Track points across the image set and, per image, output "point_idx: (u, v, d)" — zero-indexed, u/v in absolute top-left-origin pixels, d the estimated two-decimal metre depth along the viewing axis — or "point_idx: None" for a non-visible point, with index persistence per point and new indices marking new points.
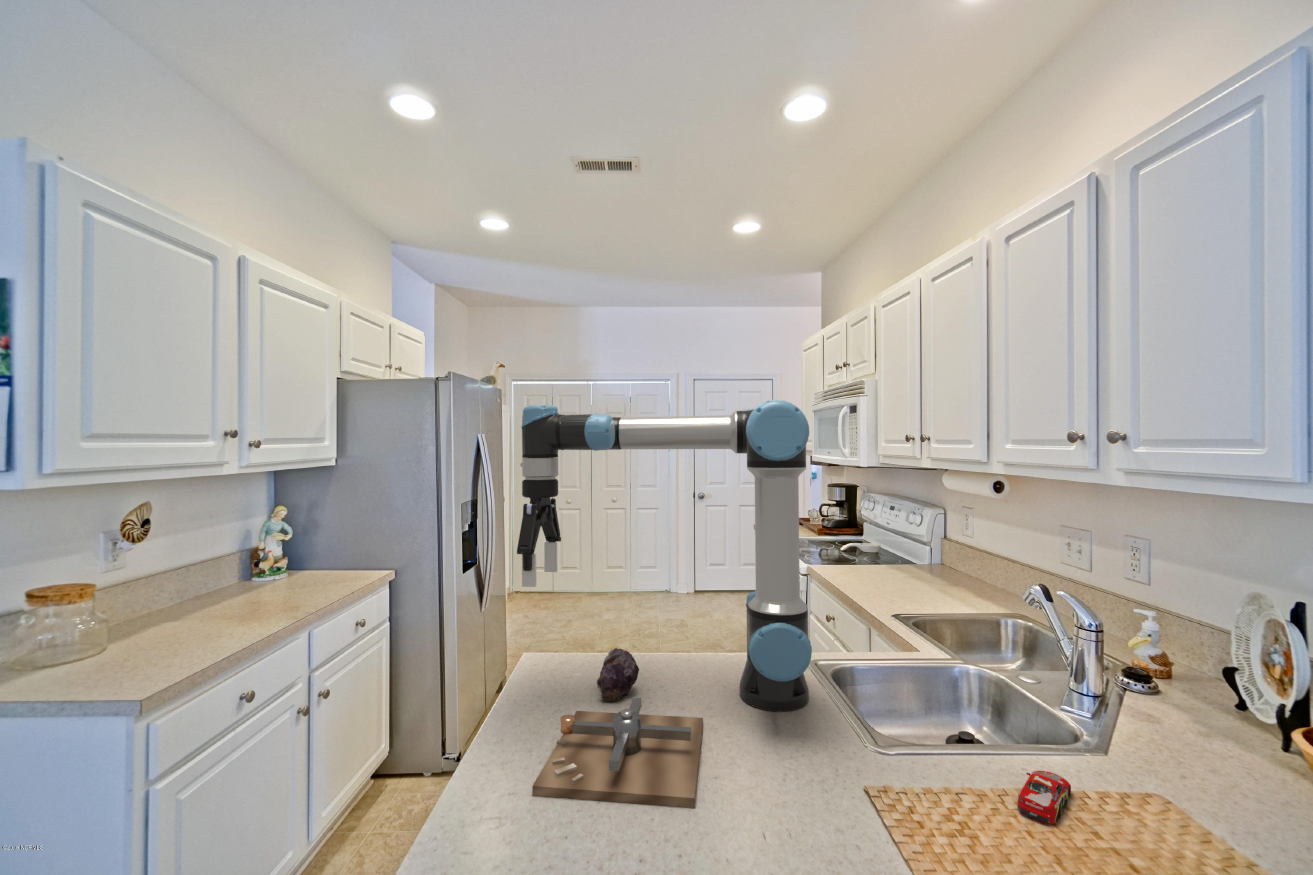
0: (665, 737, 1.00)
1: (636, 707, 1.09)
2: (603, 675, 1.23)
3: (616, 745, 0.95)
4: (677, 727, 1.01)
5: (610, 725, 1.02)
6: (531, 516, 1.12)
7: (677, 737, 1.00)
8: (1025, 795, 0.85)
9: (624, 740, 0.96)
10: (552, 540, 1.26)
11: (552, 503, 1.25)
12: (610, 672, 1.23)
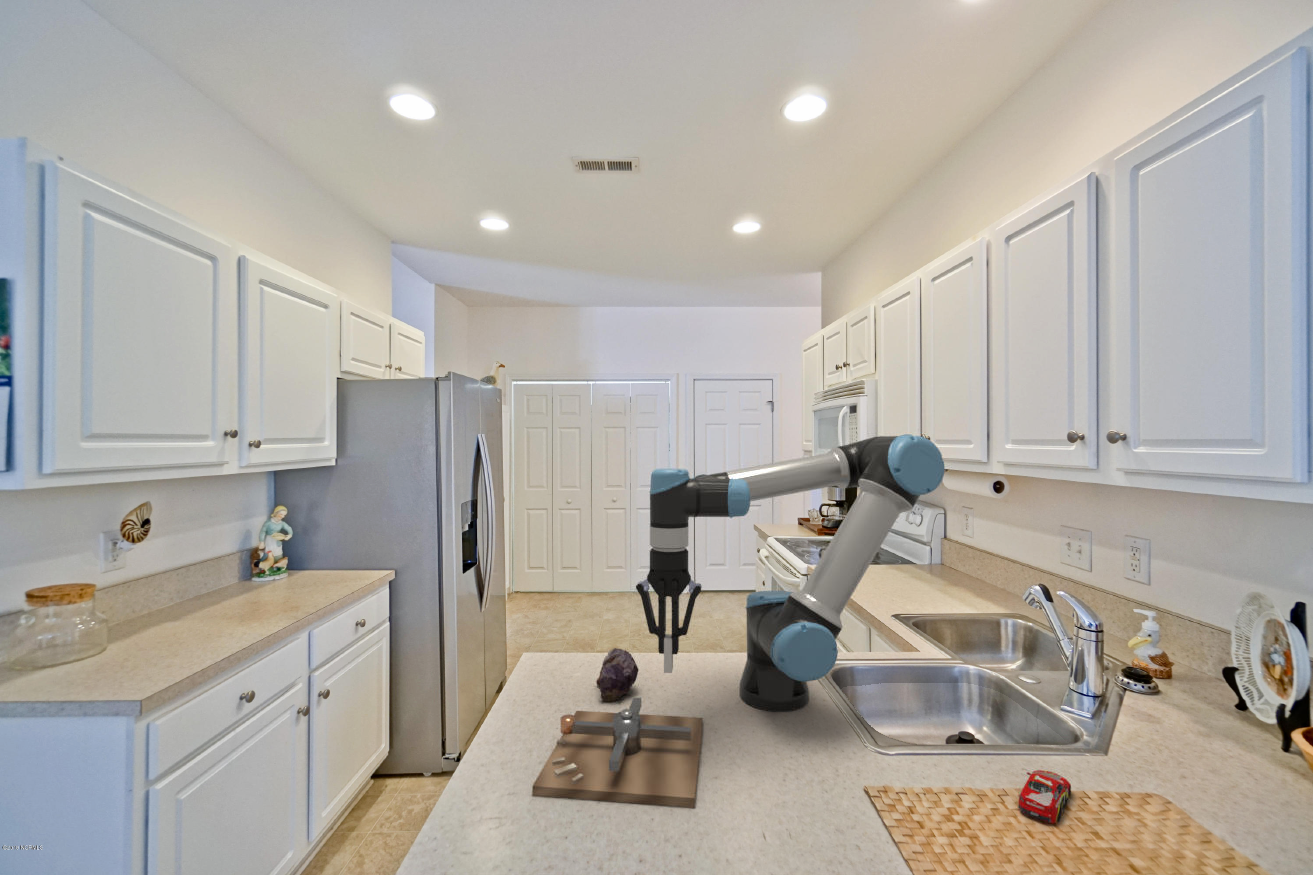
0: (665, 737, 1.00)
1: (636, 707, 1.09)
2: (602, 675, 1.23)
3: (616, 745, 0.95)
4: (677, 727, 1.01)
5: (610, 725, 1.02)
6: None
7: (677, 737, 1.00)
8: (1026, 795, 0.85)
9: (624, 740, 0.96)
10: None
11: (694, 589, 1.08)
12: (609, 672, 1.24)
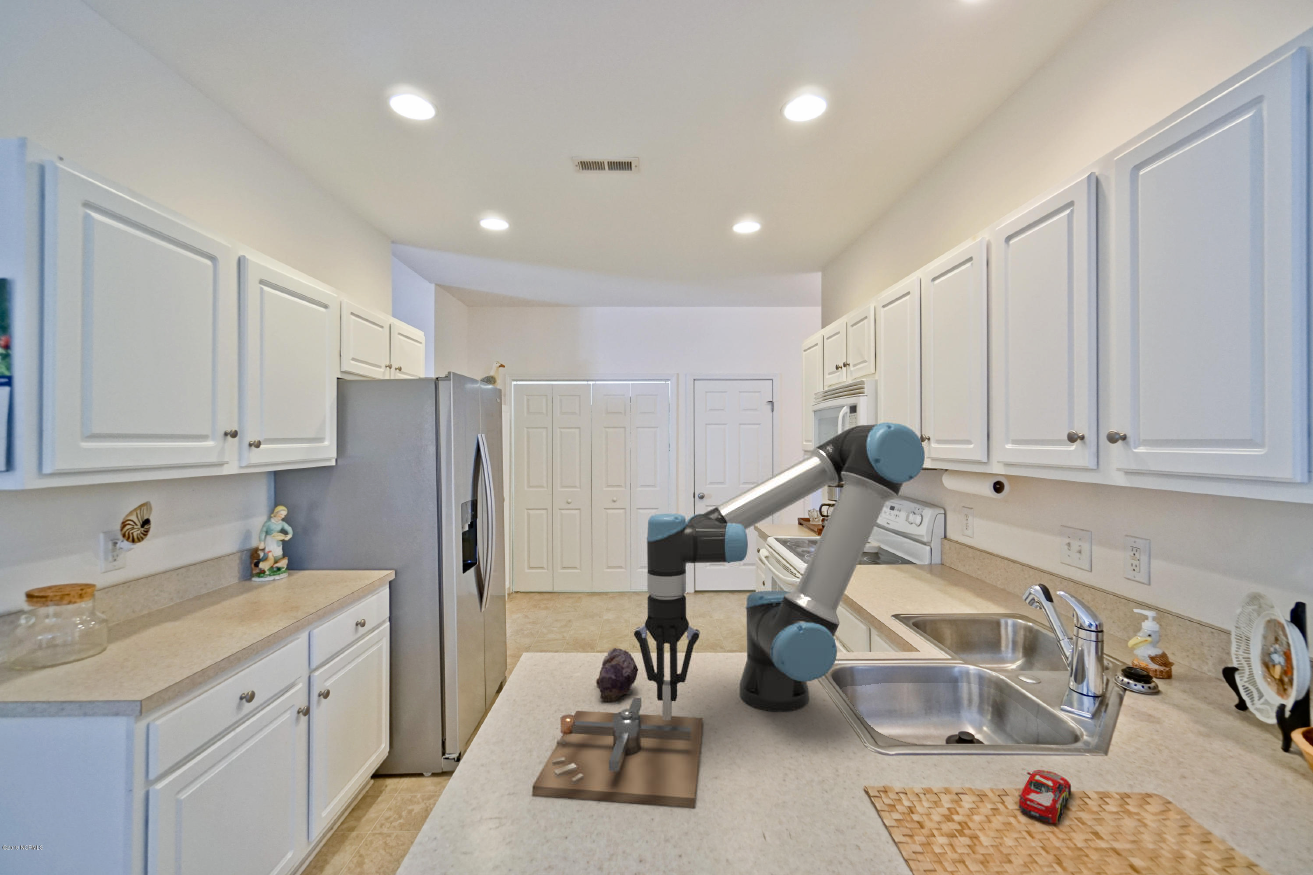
0: (665, 737, 1.00)
1: (636, 707, 1.09)
2: (602, 675, 1.23)
3: (616, 745, 0.95)
4: (677, 727, 1.01)
5: (610, 725, 1.02)
6: None
7: (677, 737, 1.00)
8: (1026, 795, 0.85)
9: (624, 740, 0.96)
10: None
11: (692, 635, 1.08)
12: (608, 672, 1.24)
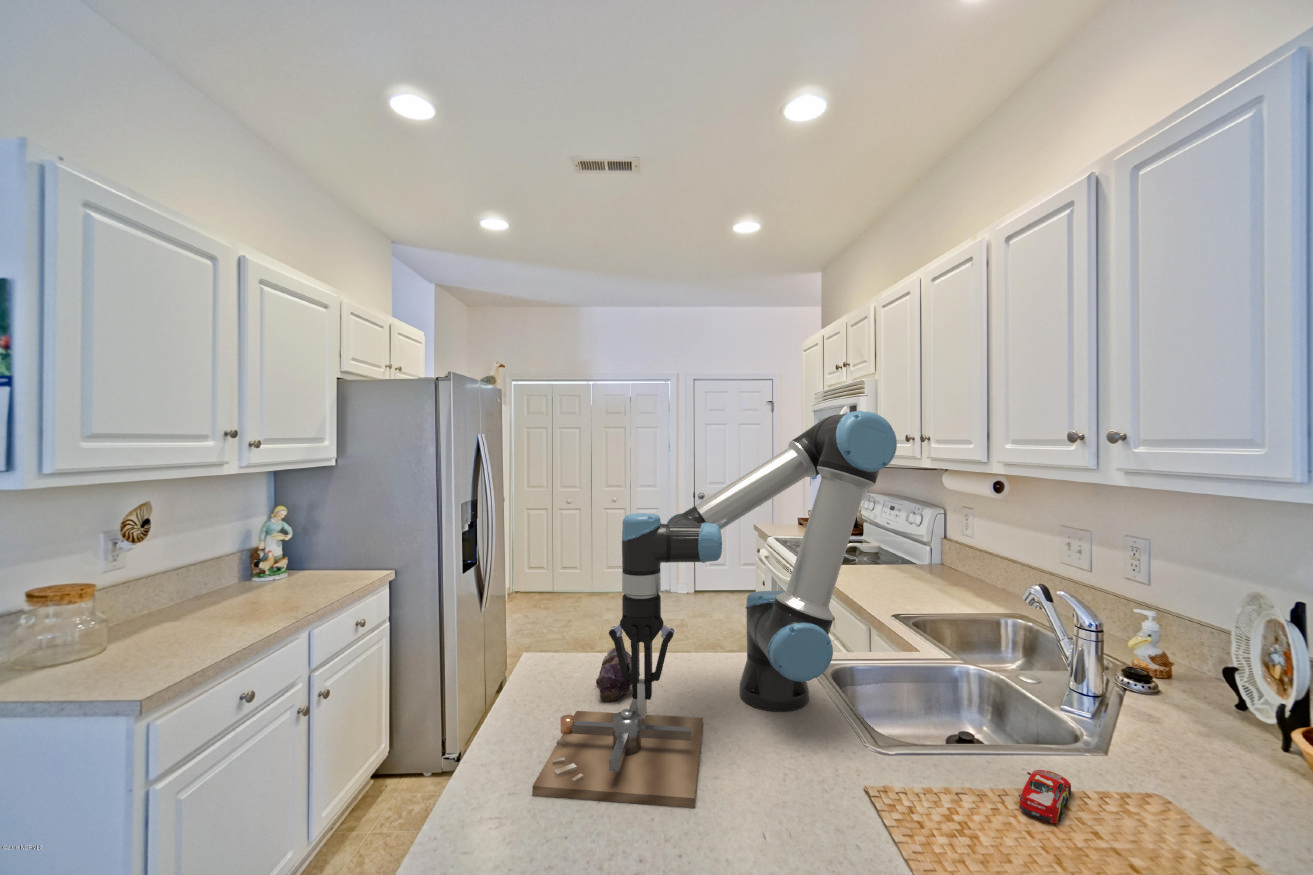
0: (665, 737, 1.00)
1: (636, 707, 1.09)
2: (601, 675, 1.23)
3: (616, 745, 0.95)
4: (677, 727, 1.01)
5: (610, 725, 1.02)
6: None
7: (677, 737, 1.00)
8: (1027, 795, 0.85)
9: (624, 740, 0.96)
10: None
11: (666, 634, 1.09)
12: (608, 672, 1.24)
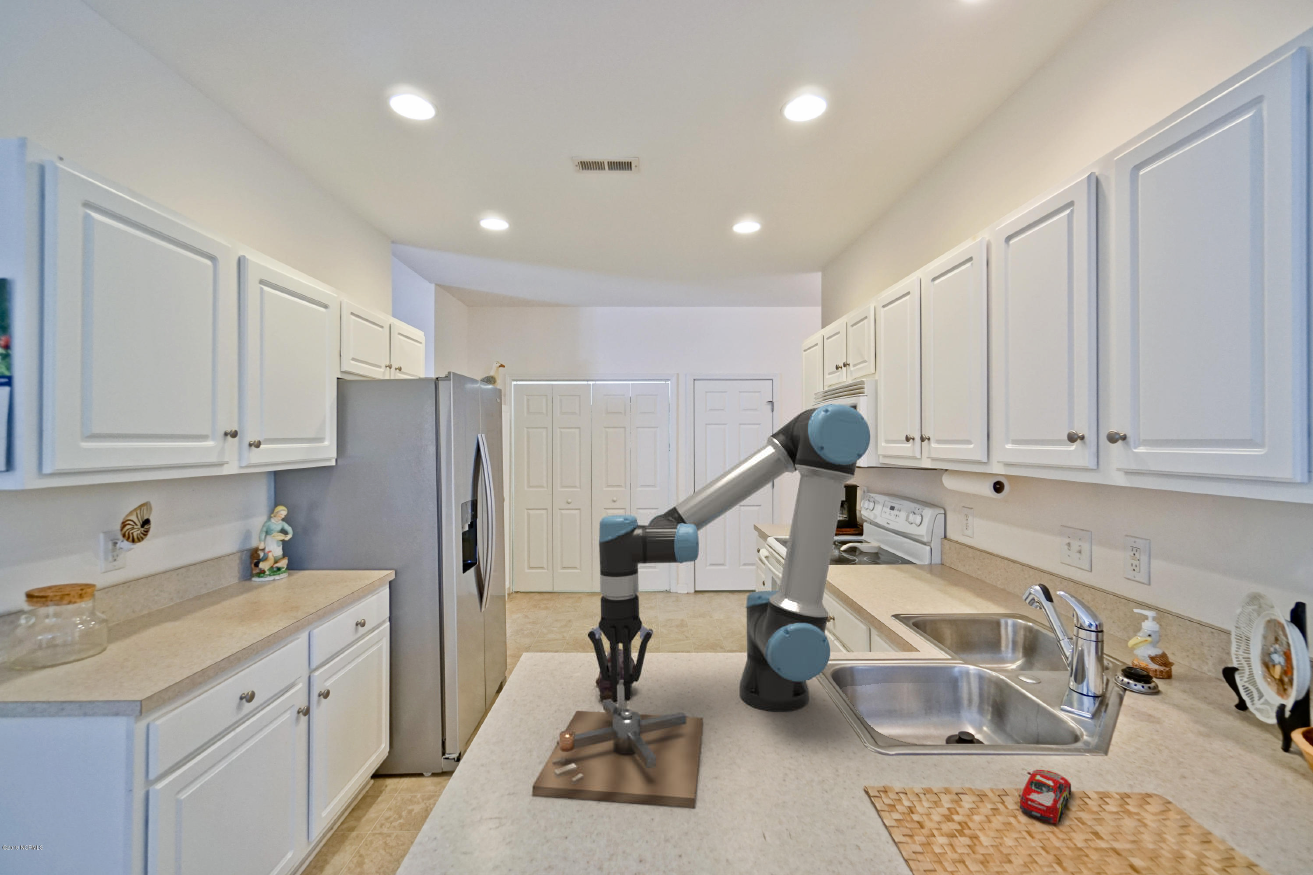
0: (664, 726, 1.04)
1: (616, 708, 1.08)
2: None
3: (638, 744, 0.95)
4: (671, 714, 1.06)
5: (611, 729, 1.00)
6: None
7: (675, 723, 1.04)
8: (1027, 795, 0.85)
9: (640, 738, 0.97)
10: None
11: (644, 635, 1.09)
12: None
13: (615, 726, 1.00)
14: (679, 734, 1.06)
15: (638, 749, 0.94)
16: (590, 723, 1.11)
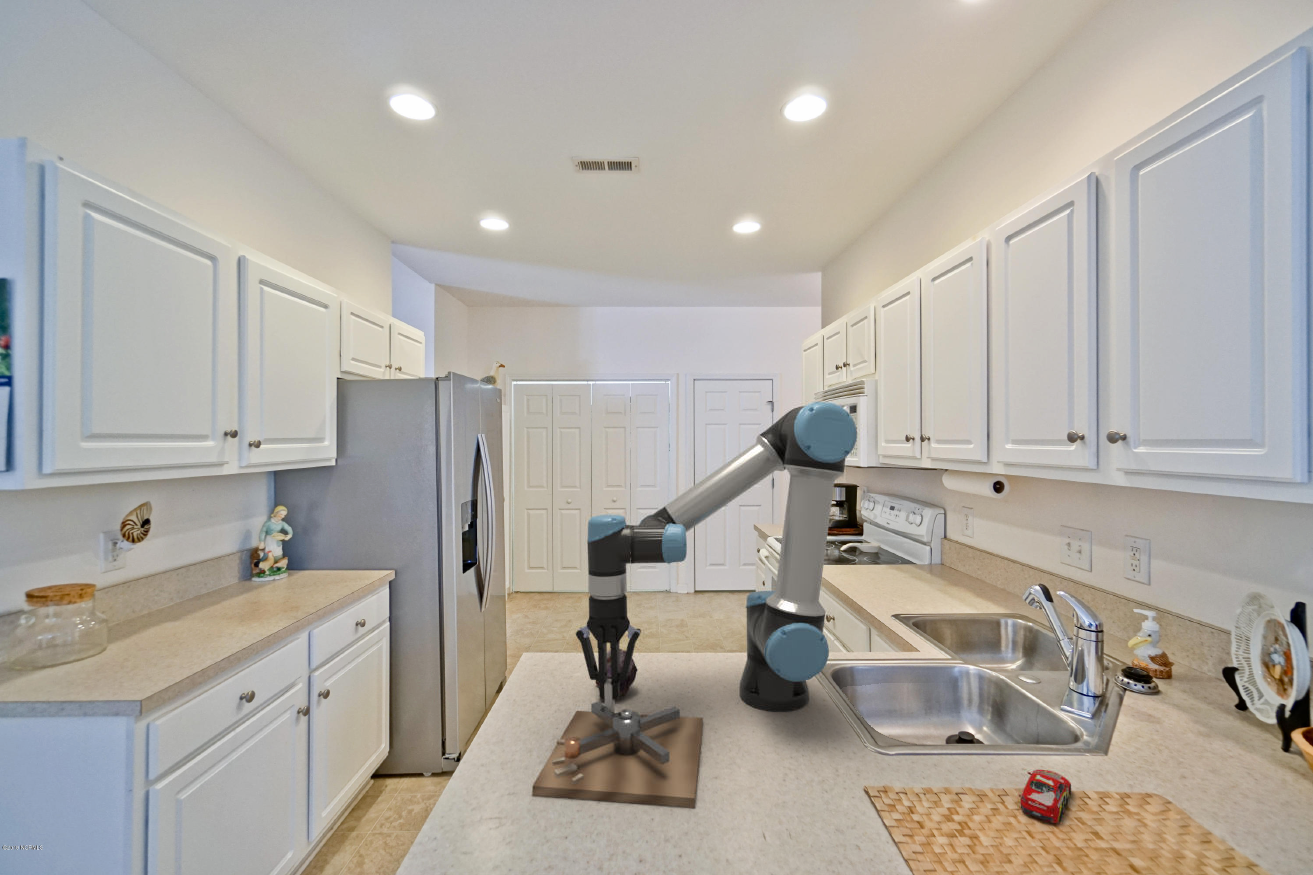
0: (660, 722, 1.05)
1: (608, 710, 1.08)
2: None
3: (646, 742, 0.96)
4: (665, 710, 1.07)
5: (613, 730, 1.00)
6: None
7: (670, 719, 1.06)
8: (1028, 795, 0.85)
9: (646, 736, 0.98)
10: None
11: (632, 634, 1.09)
12: (607, 672, 1.24)
13: (617, 727, 1.00)
14: (679, 734, 1.06)
15: (648, 747, 0.95)
16: (590, 723, 1.11)
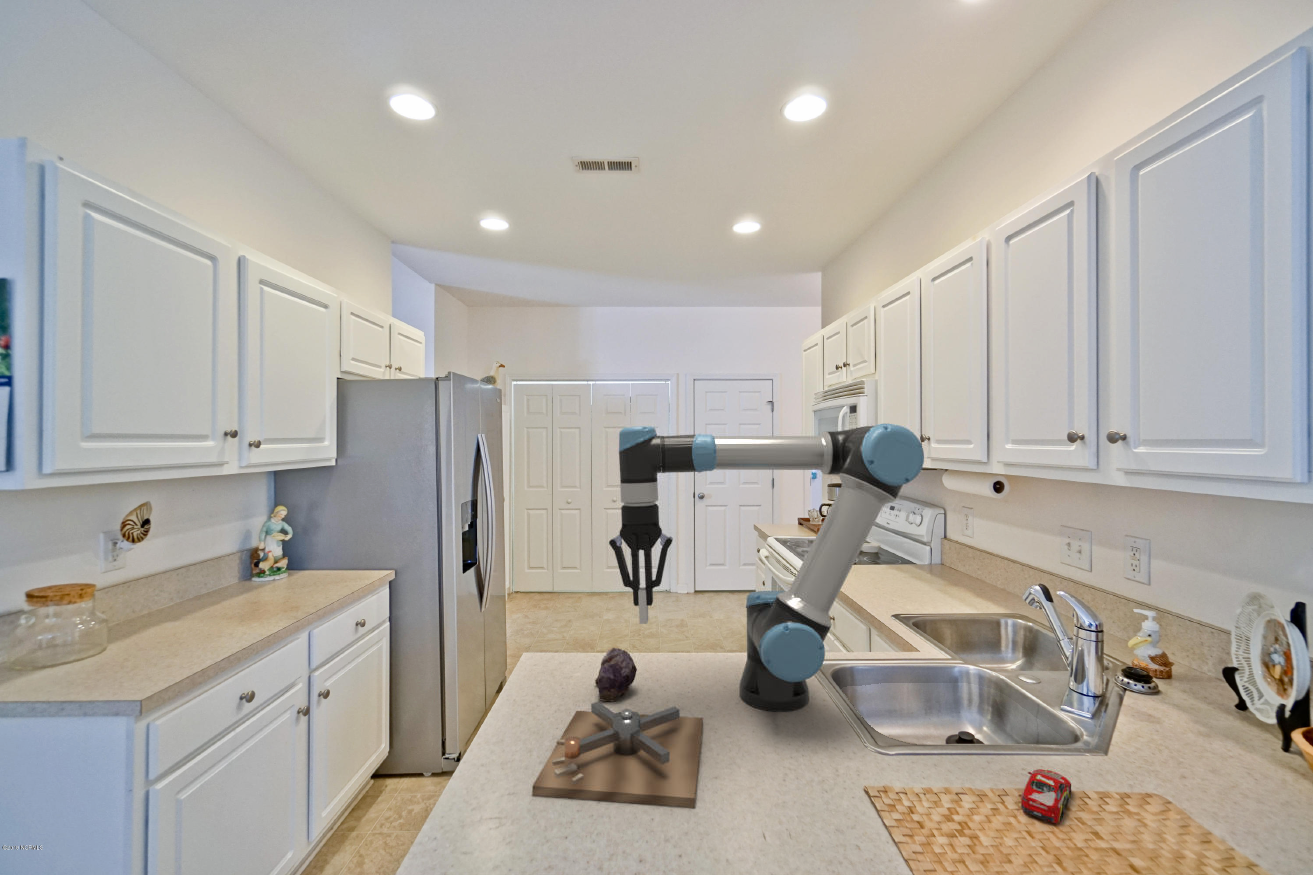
0: (660, 722, 1.05)
1: (608, 710, 1.08)
2: (600, 675, 1.23)
3: (646, 742, 0.96)
4: (665, 710, 1.07)
5: (613, 730, 1.00)
6: (615, 552, 1.13)
7: (670, 718, 1.06)
8: (1029, 795, 0.85)
9: (646, 736, 0.98)
10: None
11: (665, 541, 1.12)
12: (607, 672, 1.24)
13: (617, 727, 1.00)
14: (679, 734, 1.06)
15: (648, 747, 0.95)
16: (590, 723, 1.11)
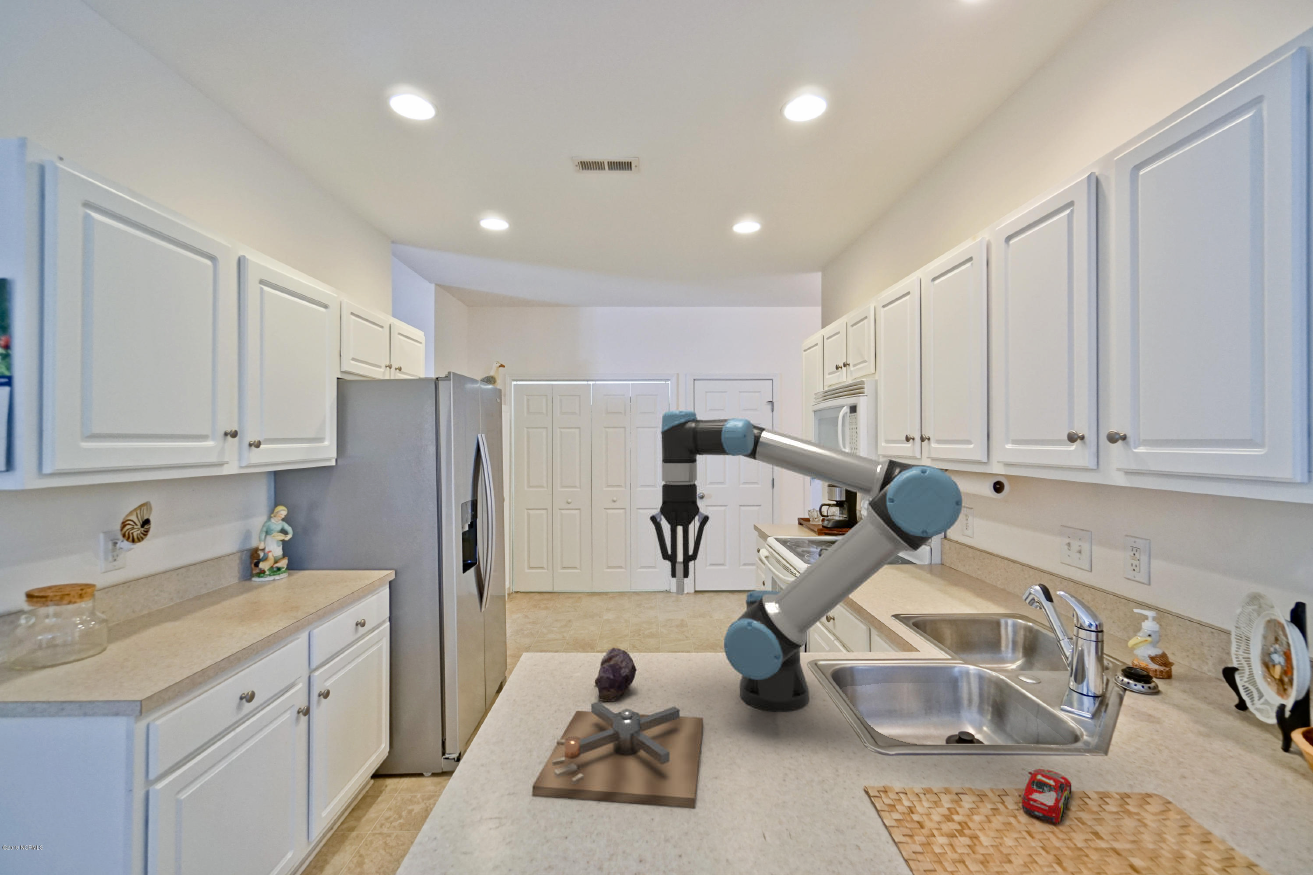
0: (660, 722, 1.05)
1: (608, 710, 1.08)
2: (600, 675, 1.23)
3: (646, 742, 0.96)
4: (665, 710, 1.07)
5: (613, 730, 1.00)
6: (655, 527, 1.21)
7: (670, 718, 1.06)
8: (1029, 795, 0.85)
9: (646, 736, 0.98)
10: None
11: (702, 518, 1.19)
12: (606, 672, 1.24)
13: (617, 727, 1.00)
14: (679, 734, 1.06)
15: (648, 747, 0.95)
16: (590, 723, 1.11)
